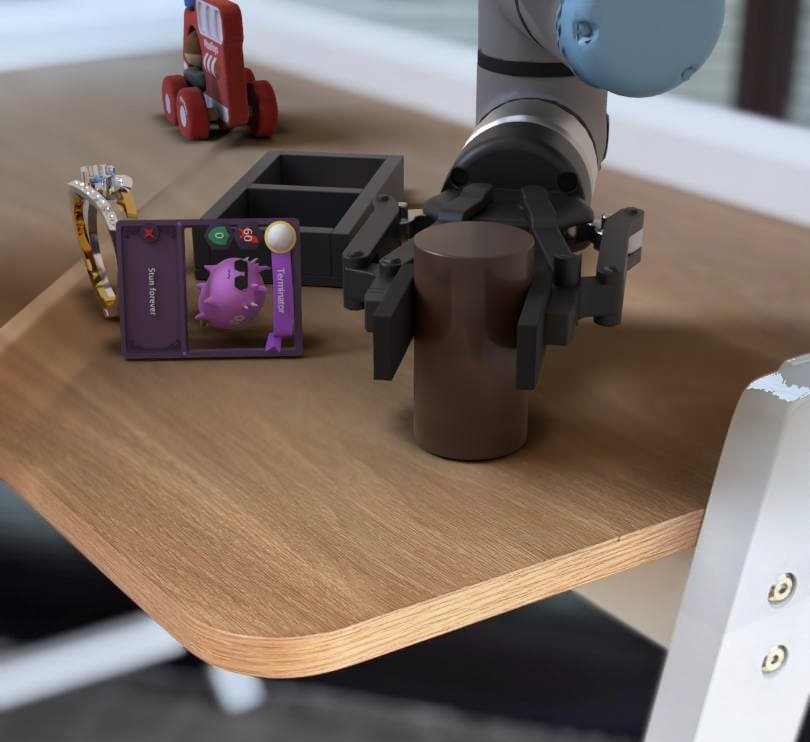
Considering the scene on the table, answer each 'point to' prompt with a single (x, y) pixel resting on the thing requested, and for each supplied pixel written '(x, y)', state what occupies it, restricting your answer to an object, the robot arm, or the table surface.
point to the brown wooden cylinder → (469, 338)
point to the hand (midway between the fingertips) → (453, 352)
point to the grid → (304, 207)
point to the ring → (96, 196)
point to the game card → (204, 285)
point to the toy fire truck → (217, 76)
